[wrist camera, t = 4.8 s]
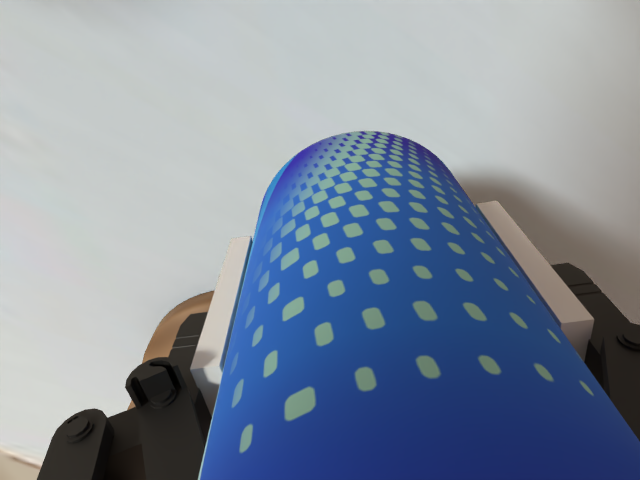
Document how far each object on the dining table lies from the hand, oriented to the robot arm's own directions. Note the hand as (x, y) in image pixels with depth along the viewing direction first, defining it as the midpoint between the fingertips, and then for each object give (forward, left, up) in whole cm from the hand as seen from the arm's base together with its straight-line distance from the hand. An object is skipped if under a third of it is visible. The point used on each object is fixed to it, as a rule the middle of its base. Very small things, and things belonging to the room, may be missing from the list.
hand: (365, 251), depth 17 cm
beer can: (0, 0, -3) cm, 3 cm away
